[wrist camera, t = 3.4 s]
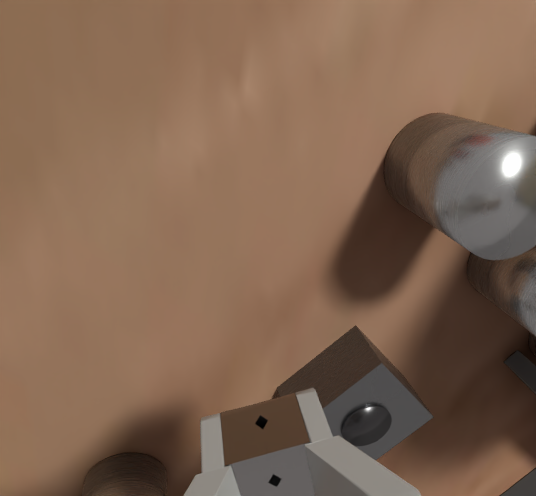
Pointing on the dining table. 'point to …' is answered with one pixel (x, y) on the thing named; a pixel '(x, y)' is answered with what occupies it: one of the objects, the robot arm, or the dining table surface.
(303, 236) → the dining table surface
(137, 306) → the dining table surface
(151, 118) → the dining table surface
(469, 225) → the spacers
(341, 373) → the grey square block
